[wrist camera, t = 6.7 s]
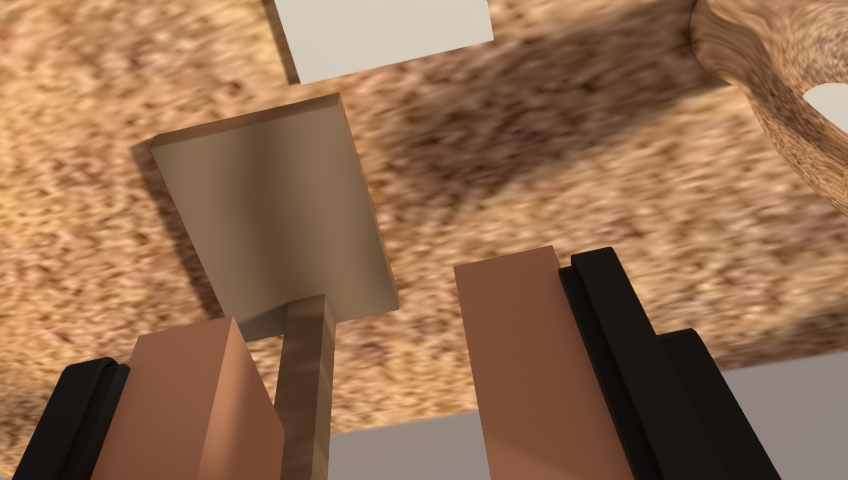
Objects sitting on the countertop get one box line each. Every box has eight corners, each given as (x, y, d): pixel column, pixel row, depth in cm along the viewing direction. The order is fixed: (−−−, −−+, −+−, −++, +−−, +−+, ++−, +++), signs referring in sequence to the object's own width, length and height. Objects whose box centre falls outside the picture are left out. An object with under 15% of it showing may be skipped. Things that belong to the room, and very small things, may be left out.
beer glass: (709, 114, 39) (875, 293, 26) (655, -6, 36) (815, 132, 23) (847, 39, 37) (1095, 191, 25) (804, -94, 34) (1065, 1, 21)
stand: (336, 82, 37) (306, 411, 19) (398, 293, 43) (420, 686, 25) (152, 125, 37) (-51, 484, 19) (241, 326, 44) (152, 735, 26)
